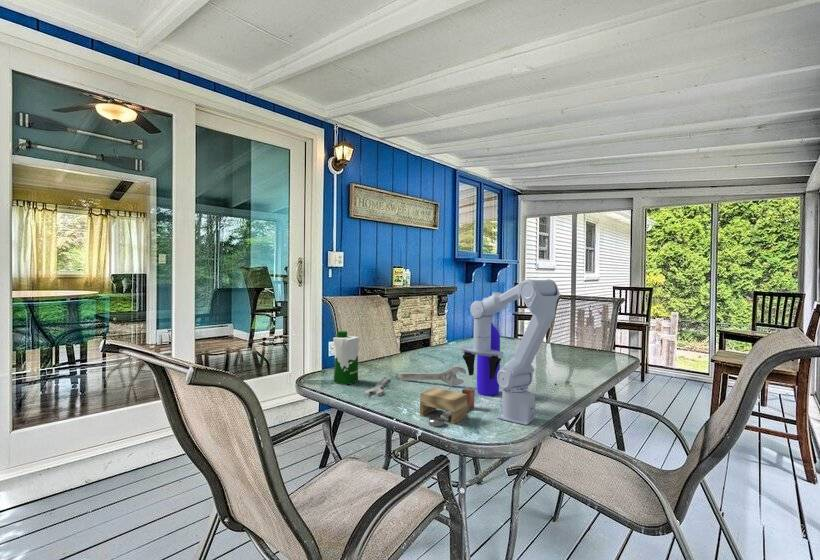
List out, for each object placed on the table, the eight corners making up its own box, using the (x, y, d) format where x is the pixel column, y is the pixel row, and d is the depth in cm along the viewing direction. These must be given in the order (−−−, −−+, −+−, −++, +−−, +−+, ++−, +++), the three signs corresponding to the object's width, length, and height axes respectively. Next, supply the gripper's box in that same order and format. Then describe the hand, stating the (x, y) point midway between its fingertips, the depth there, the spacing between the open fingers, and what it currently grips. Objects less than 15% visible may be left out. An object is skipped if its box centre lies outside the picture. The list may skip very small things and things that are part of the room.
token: (447, 424, 124) (447, 419, 124) (439, 429, 120) (439, 423, 120) (434, 421, 126) (434, 416, 126) (426, 425, 123) (426, 420, 123)
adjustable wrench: (383, 380, 174) (383, 376, 174) (398, 381, 173) (398, 377, 173) (362, 397, 150) (362, 392, 150) (379, 398, 149) (379, 393, 149)
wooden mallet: (474, 407, 140) (474, 389, 139) (448, 421, 126) (448, 401, 126) (466, 405, 141) (466, 387, 141) (439, 419, 127) (440, 399, 127)
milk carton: (343, 378, 175) (343, 330, 175) (361, 380, 171) (362, 331, 171) (330, 382, 167) (330, 332, 167) (349, 385, 163) (350, 334, 163)
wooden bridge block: (466, 416, 130) (467, 394, 130) (453, 424, 123) (454, 400, 123) (433, 409, 137) (434, 387, 137) (419, 415, 130) (420, 393, 130)
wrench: (397, 386, 175) (467, 386, 163) (395, 387, 173) (466, 387, 162) (396, 366, 175) (465, 365, 164) (394, 367, 174) (464, 366, 162)
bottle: (502, 392, 157) (504, 312, 157) (494, 397, 150) (495, 313, 150) (482, 388, 162) (483, 310, 161) (472, 393, 155) (474, 312, 154)
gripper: (507, 337, 141) (506, 377, 141) (468, 333, 149) (467, 371, 150) (498, 339, 135) (497, 382, 136) (458, 335, 144) (458, 375, 144)
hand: (481, 376), depth 142 cm, fingers open, 7 cm apart
